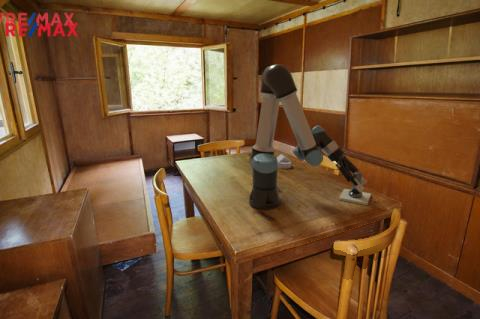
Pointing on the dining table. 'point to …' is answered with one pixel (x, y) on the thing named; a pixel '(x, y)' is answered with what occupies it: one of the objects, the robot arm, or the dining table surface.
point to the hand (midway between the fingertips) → (363, 186)
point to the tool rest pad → (362, 200)
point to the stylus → (354, 191)
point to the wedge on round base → (283, 162)
